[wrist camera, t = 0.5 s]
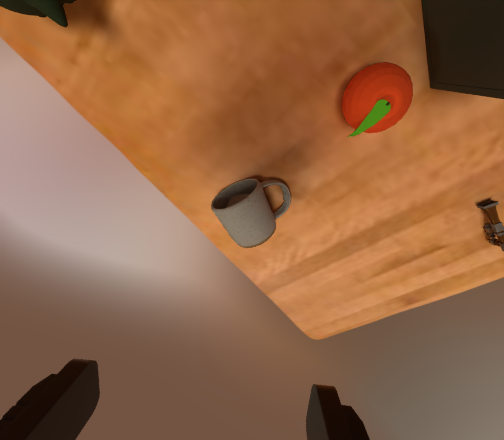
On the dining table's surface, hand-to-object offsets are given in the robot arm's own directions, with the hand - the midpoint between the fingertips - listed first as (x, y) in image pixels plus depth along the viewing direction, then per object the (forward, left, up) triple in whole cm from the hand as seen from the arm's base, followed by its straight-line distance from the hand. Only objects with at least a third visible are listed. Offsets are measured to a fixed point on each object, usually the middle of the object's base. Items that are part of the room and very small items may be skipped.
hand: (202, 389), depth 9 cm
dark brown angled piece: (+24, +27, -31) cm, 47 cm away
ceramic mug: (+7, -4, -31) cm, 31 cm away
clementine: (0, +14, -31) cm, 34 cm away
